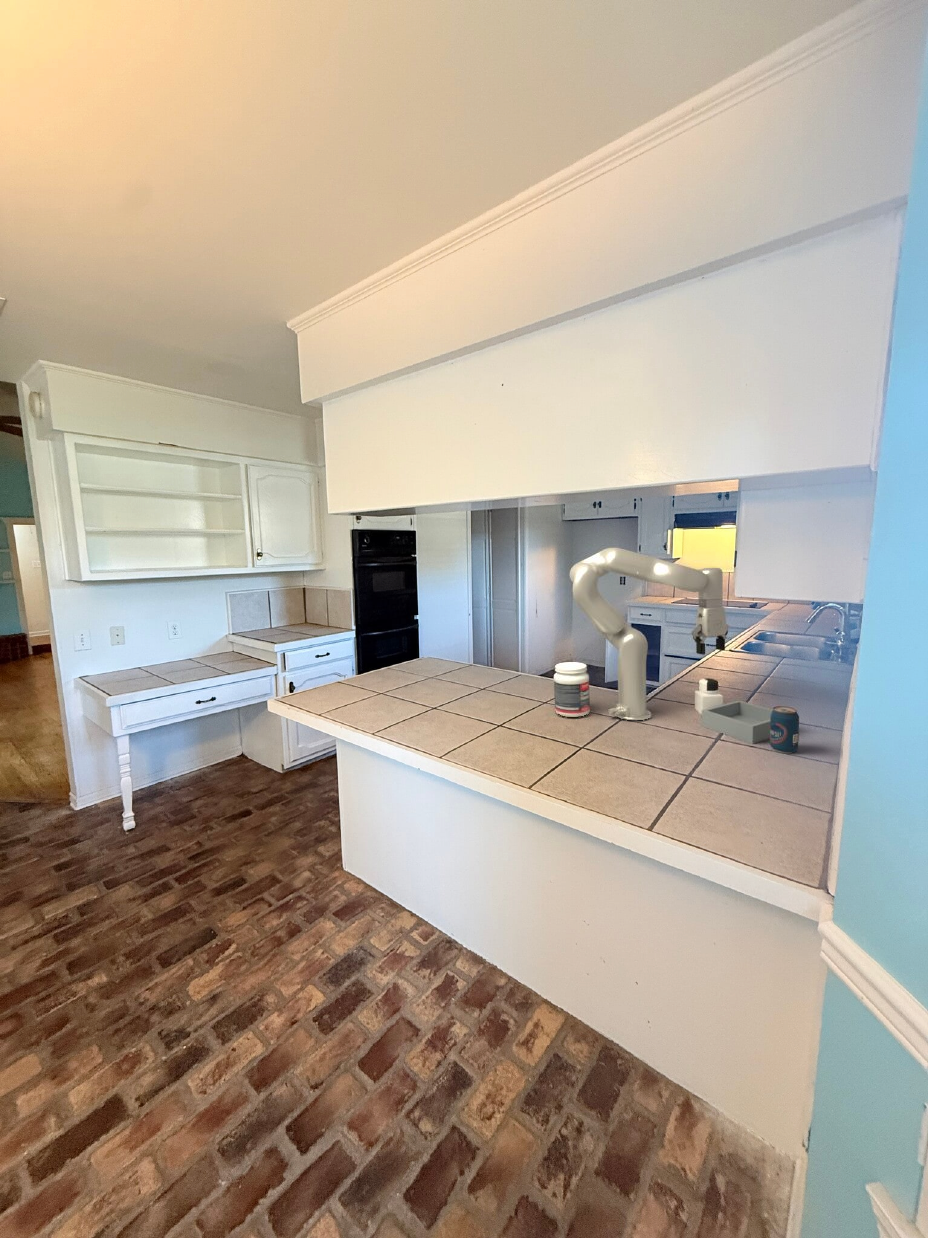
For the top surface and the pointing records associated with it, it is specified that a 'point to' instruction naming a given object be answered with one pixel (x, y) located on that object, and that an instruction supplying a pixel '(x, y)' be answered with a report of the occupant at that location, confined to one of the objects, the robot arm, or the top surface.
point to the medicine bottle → (707, 695)
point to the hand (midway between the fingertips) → (710, 651)
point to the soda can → (784, 729)
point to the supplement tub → (571, 689)
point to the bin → (739, 721)
